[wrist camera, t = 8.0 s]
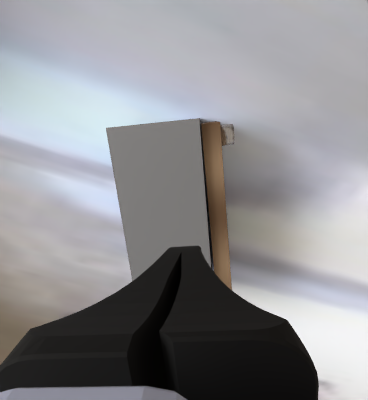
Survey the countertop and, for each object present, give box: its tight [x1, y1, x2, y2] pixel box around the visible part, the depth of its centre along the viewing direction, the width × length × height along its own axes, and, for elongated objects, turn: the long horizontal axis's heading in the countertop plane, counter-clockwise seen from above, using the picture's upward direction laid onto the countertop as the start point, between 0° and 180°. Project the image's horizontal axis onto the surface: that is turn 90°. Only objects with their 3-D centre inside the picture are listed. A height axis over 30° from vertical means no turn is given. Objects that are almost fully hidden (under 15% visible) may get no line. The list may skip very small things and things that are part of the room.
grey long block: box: [106, 118, 212, 281], centre depth 19 cm, size 12×5×5 cm, turn 5°
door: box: [201, 121, 234, 290], centre depth 18 cm, size 12×2×5 cm, turn 6°
